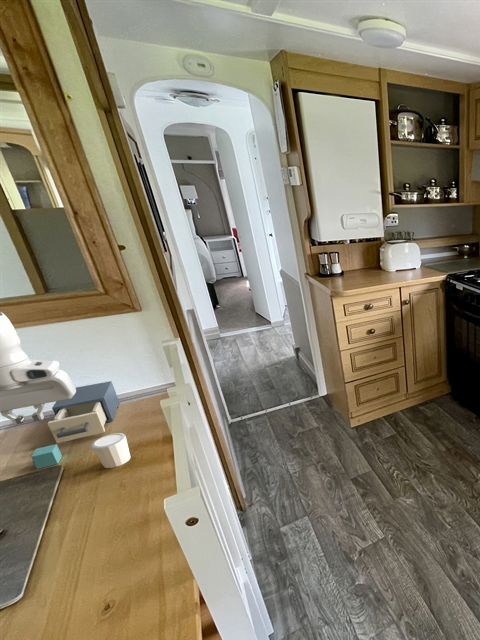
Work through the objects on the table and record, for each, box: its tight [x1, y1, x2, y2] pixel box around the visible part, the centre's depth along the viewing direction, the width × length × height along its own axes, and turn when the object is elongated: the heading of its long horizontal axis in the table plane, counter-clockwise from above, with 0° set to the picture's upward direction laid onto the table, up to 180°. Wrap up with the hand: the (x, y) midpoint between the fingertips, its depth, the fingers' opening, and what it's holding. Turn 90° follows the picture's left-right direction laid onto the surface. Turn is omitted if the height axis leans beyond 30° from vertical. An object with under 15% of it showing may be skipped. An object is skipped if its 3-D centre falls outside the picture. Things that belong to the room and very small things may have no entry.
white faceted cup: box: [90, 432, 131, 469], centre depth 101 cm, size 7×7×7 cm
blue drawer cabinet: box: [51, 380, 120, 424], centre depth 121 cm, size 14×12×9 cm
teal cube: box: [30, 443, 63, 470], centre depth 101 cm, size 4×4×4 cm
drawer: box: [47, 401, 107, 444], centre depth 113 cm, size 17×10×7 cm, turn 34°
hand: (29, 421), depth 97 cm, fingers closed
